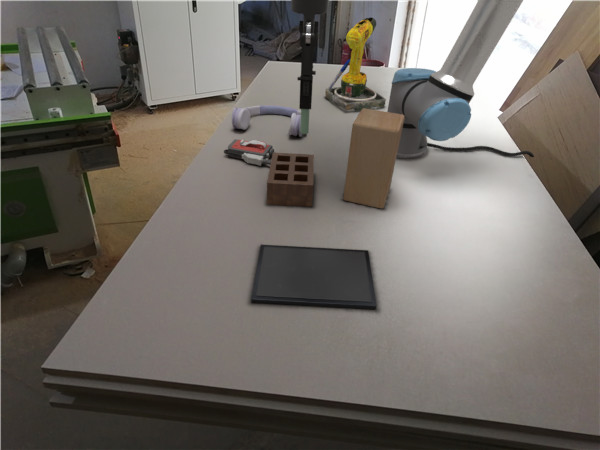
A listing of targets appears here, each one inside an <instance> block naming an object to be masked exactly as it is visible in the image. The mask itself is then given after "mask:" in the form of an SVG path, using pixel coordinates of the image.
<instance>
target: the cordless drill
mask: <svg viewBox="0 0 600 450" xmlns="http://www.w3.org/2000/svg"><path fill="white" fill-rule="evenodd" d="M376 27H377V20H376V19H375V18H374V17H372V16H371V17H365V18H364V19H362V20H360V21H358V22H357V23H356V24H355V25H354V26H353V27H352V28H350V30H349V31H348V32H347V34H346V36H345V41H346V43H347V44H348V47H349V49H351V53H350V58H348V59H347V60H346V61H345V62H344V64H343V65H342V67H341V68H340V70H339V71H338V73H337V74H336V75H335V76H334V78H333V79H332V80H331V82H330V84H329V86H328V87H327V88H325V90H324V92H325V94H324V95H325V97H324V98H325V99H328V100H330V101H331V102H332V101H333V102H335V103H336V104H337V105H338V106H339V107H341V109H343V110H344V111H346V112H347V111H352V110H354V111H361V110H362V109H363V108H365V109H372V108H385V105H386V101H387V99H386V98H385V97H384V96H383V95H382V94H380V93H378V92H377V91H375V90H373V89H371V88H370V87H368V86H367V82H368V80H367V74H366V73H365V72H363V71H361V69H362V68H361V67H362V62H363V55H364V53H365V52H364V48H365V45H366V42H367V41H368V39H369V38H370V37H371V36H372V35H373V33H374V31H375V29H376ZM347 68H348V72H347V73H345V74H343V73H344V72H345V71H346V70H347ZM341 76H342V77H341ZM340 77H341V80H340V86H337V87H335V84H336V83H337V81H338V80H339V79H340ZM341 94H342V95H341ZM362 95H365V96H368V97H367V98H360V97H361V96H362Z"/></svg>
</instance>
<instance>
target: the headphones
mask: <svg viewBox="0 0 600 450" xmlns="http://www.w3.org/2000/svg"><path fill="white" fill-rule="evenodd" d="M266 114H271V115H272V114H273V115H282V116H287V117H288V116H289V117H290V122H289V127H288V135H289V136H295V137H296V136H298V137H299V138H302V133H300V122H301V110H300V109H296V108H293V107H289V106H283V105H273V104H270V105H269V104H266V105H265V104H263V105H252V106H247V107H243V108H242V107H234V108H233V110H232V115H231V125H232V128H233V129H237V130H243V131H244V130H247V129H248V128H249V126H250V123H251V116H255V115H266Z"/></svg>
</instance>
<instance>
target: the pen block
mask: <svg viewBox="0 0 600 450" xmlns="http://www.w3.org/2000/svg"><path fill="white" fill-rule="evenodd" d="M270 161H271V165H270V164H269V170H268V176H267V179H266V204H267V205H269V206H272V205H273V206H288V207H289V206H292V207H310V208H311V207H313V194H314V176H315V175H314V174H315V173H314V172H315V171H314V169H315V168H314V167H315V166H314V165H315V164H314V163H315V155H314V154H311V153H309V154H308V153H291V152H276V151H274V152H273V155H272V156H271V160H270Z"/></svg>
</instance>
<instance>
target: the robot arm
mask: <svg viewBox="0 0 600 450" xmlns="http://www.w3.org/2000/svg"><path fill="white" fill-rule="evenodd" d="M329 2H330V0H290V10H291V11H292V13H295V14H299V15H300V14H301V15H303V20H299V24H298V32H299V46H300V47H301V57H300V58H301V61H300V76H297V81H299V109H298V110H301V109H310V110H312V104H313V103H312V100H313V84H314V83H313V81H314V76H316V75H317V71H316V70H314V54H315V53H314V51H315V48H316V47H317V40H318V39H317V37H318V36H317V35H318V33H319V21H318V20H315V19H316V15H324V14H326V13H328V11H329V6H330V5H329ZM523 2H524V0H478V1H477V3H476V4H475V5H474V7H473V10H472V11H471V13H470V15H469V17H468V19H467V21H466V22H465V24H464V25H463V27H462V30H461V32H460V33H459V35H458V36H457V38H456V40H455V42H454V44H453V46H452V48H451V50H450V51H449V53H448V55H447V57H446V59H445V61H444V63H443V64H442V65H441V68H440V69H439V70H437V71H436V70H433V69H428V68H420V67H419V68H417V67H408V68H407V67H405V68H400V69H397V70H396V71H395V72H394V73H393V74H394V75H393V78H392V81H391V88H390V93H389V99H388V105H387V111H386V112H390V113H396V114H402V115H404V116H405V118H404V123H403V128H402V132H401V137H400V142H399V147H398V152H397V157H396V159H402V160H403V159H405V160H412V159H418V158H421V157H423V156H424V155H425V154H426V153H427V150H428V147H430V148H435V149H439V150H442V151H449V152H469V151H475V150H487V151H492V152H494V153H497V154H500V155H503V156H508V157H518V156H522V155H528V156H529V157H530V158H535V155H534V153H533V152H531V151H529V150H523V151H518V152H517V151H516V152H508V151H504V150H500V149H498V148H496V147H492V146H486V145H475V146H470V147H468V146H467V147H450V146H442V145H439V144H435V143H431V142H430V143H429V142H428V139H430V140H432V141H434V142H445V141H448V140H450V139H454V138H455V137H457V136H458V135H460V134H461V133H462V132H463V131H464V130H465V129H466V128H467V127H468V125H469V123H470V121H471V118H472V113H471V112H472V108H471V106H470V103H471V101H472V100H473V98H474V96H475V91H474V84H475V82H476V80H477V79H478V77H479V75H480V74H481V72H482V70H483V69H484V67H485V65H486V64H487V62H488V60H489V59H490V58H491V55H492V54H493V52H494V51H495V49H496V47H497V45H498V43H499V42H500V40H501V39H502V37H503V36H504V33H505V32H506V30H507V28H508V27H509V26H510V23H511V22H512V20H513V19H514V18H515V17H514V16H515V15H516V13H517V12H518V10H519V8H520V6H521V5H522V3H523Z"/></svg>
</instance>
